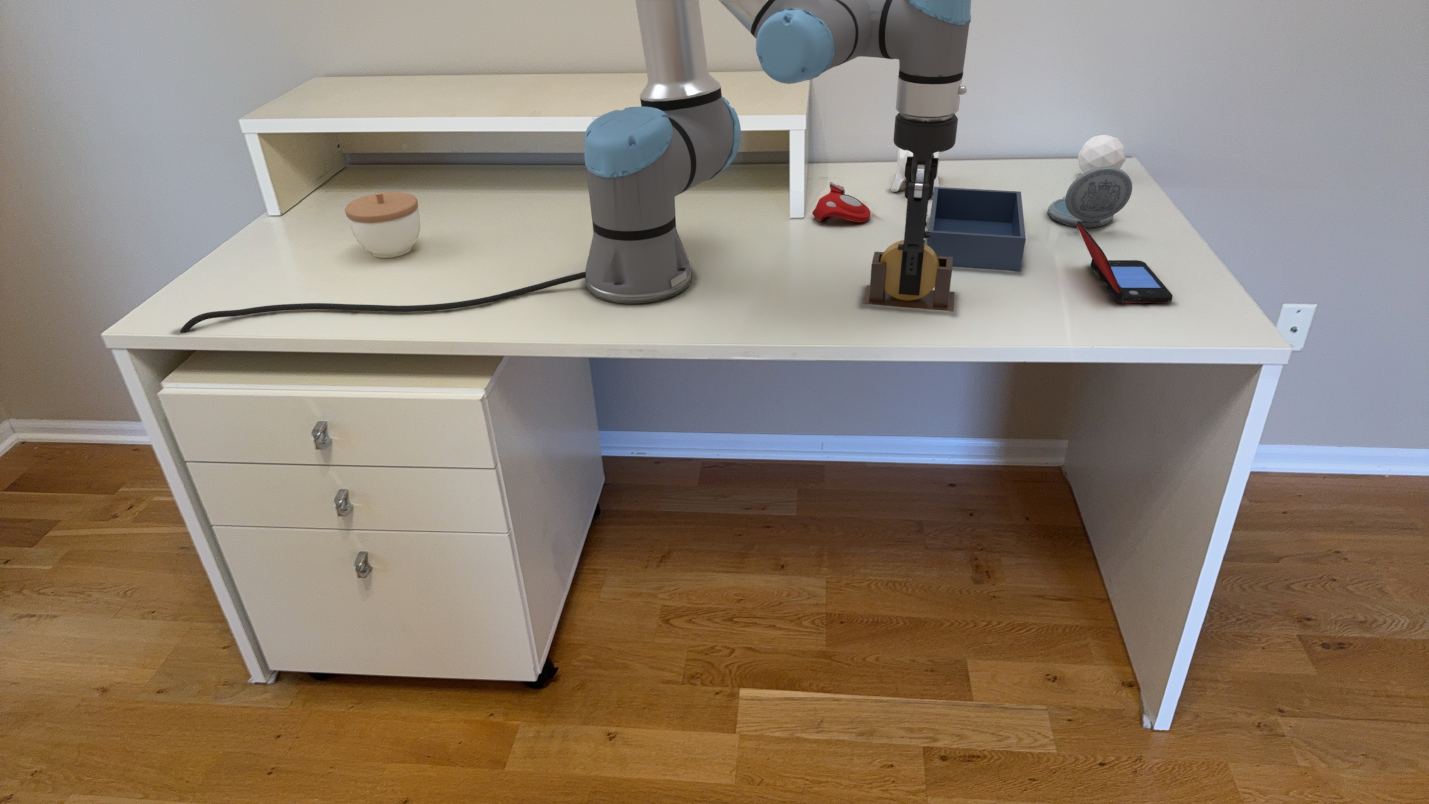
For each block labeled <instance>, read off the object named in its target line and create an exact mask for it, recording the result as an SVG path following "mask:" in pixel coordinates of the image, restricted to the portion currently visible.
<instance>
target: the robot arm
mask: <svg viewBox="0 0 1429 804" xmlns="http://www.w3.org/2000/svg"><path fill="white" fill-rule="evenodd" d="M634 1H635V6H636V7H635V8H636V14H637V19H638V26H639V32H640V38H641V44H642V50H643V51H642V52H643V57H644V63H645V69H646V76H647V82H646V85H645V86H644V88H643V89H642V90H641V92H640V94H639V100H640V106H629V107H625V108H624V109H614V110H611V111H609V112H606V113H604V114H602V115H600V116H598V117H597V118H595V119H594V120H593V121H592V122H590V124H589V125H588V126H587V127H586V130H585V133H584V153H583V160H584V165H585V168H586V170H585V171H586V179H587V187H588V188H587V189H588V197H589V205H590V214H591V222H592V233H593V234H592V239H591V243H590V246H589V247H590V248H589V252H588V256H587V260H586V265H585V271H582V272H577V273H573V274H569V275H565V276H562V277H557V278H554V279H550V280H547V281H544V282H540V283H537V284H533V285H528V286H525V287H521V288H517V289H514V290H511V291H506V292H502V293H498V294H493V295H489V296H484V297H479V298H473V299H468V300H467V299H466V300H461V301H453V302H445V303H432V304H414V305H412V304H411V305H393V304H391V305H389V304H388V305H387V304H362V303H361V304H354V303H353V304H352V303H333V302H331V303H329V302H328V303H327V302H307V303H305V302H304V303H303V302H302V303H284V304H283V303H282V304H271V305H270V304H269V305H261V306H253V307H248V308H239V309H230V310H229V309H228V310H217V311H208V312H204V313H200V314H198V315H196V316H194V317H192V318H190V319H189V320H188V321H187V322H186V323H185V324H184V325H183V326H182V327H181V329H180V331H179V333H180V334H185V333H188V332H190V330H191V329H192V328H193V327H194V326H196V325H197V324H199V323H201V322H203V321H206V320H211V319H217V318H219V319H220V318H232V317H233V318H234V317H243V316H248V315H256V314H262V313H271V312H283V311H285V312H286V311H304V310H305V311H306V310H307V311H309V310H310V311H311V310H312V311H313V310H326V311H328V310H329V311H330V310H331V311H349V312H350V311H351V312H352V311H354V312H383V313H384V312H386V313H387V312H388V313H416V312H432V311H433V312H434V311H435V312H436V311H445V310H455V309H462V308H469V307H475V306H479V305H486V304H490V303H495V302H499V301H503V300H506V299H511V298H515V297H517V296H522V295H525V294H529V293H533V292H537V291H540V290H544V289H545V290H546V289H548V288H551V287H555V286H559V285H562V284H567V283H570V282H575V281H578V280H583V279H585V287H586V289H587V290H588V293H590V294H591V295H592V296H595V297H597V298H599V299H601V300H604V301H606V302H607V301H608V302H611V303H617V304H646V303H653V302H658V301H662V300H667V299H669V298H672V297H674V296H676V295H678V294H680V293H682V292H683V291H685V290H686V289H687V288H688V287H689V286H690V284H691V282H692V267H691V262H690V260H689V256H688V254H687V252H686V249H685V247H684V244H683V242H682V240H681V237H680V234H679V232H678V229H677V219H676V197H677V196H679V195H681V194H683V193H684V192H686V191H688V190H690V189H693V188H694V187H696V186H698V185H699V184H702V183H704V182H707V181H710V180H712V179H714V178H716V177H717V176H718V175H719V174H720V173H721V172H723V171H724V170H725V169H726V168H728V167H729V166H730V165H731V164H732V162H733V161H734V159H735V158H736V157H737V155H738V152H739V150H740V145H741V139H742V130H741V129H742V128H741V122H740V118H739V116H738V113H737V111H736V109H735V108H734V107H732V106H731V105H730V101H729V100H728V99H726V98H725V97H723V95H722V94H723V93H722V86H721V83H720V82H719V81H718V80H717V79H716V78H715V77H714V76H712V75H711V74H710V72H709V69H708V62H707V53H706V45H705V37H704V29H703V21H702V15H701V13H702V12H701V6H700V0H634ZM718 1H719V2H720V3H721V4H722V5H723V6H724V8H725V9H726V10H727V11H728V12H729V13H730V14H731V15H732V16H733V17H734V18H735V19H736V20H737V21H738V22H739V23H740V24H741V25H742V26H743V27H744V28H745V30H747V31H748V32H749V33H750V34H751V35H752V37H754V38H755V52H756V56H757V58H758V61H759V64H760V67H761V69H762V70H763V72H764V73H765V74H766V75H767V76H768V77H769V78H771V80H774V81H775V82H778V83H780V84H786V85H790V84H793V85H794V84H798V83H802V82H804V81H810V80H813V79H816V78H818V77H819V76H821V75H822V74H823V73H826V72H827V71H828V70H831V69H833V68H836V67H838V66H841V65H843V64H845V63H848V62H850V61H852V60H854V59H856V58H859V57H866V58H878V59H886V60H899V62H898V63H899V65H898V67H899V68H898V76H897V84H896V97H895V110H896V111H897V112H898V113H897V114H896V115H895V118H894V129H893V139H892V140H893V144H894V145H895V147H897V149H898V148H900V149H902V150H905V151H906V150H908V151H910V152H912V153H913V157H908V156H907V162H906V165H905V177H906V181H905V188H904V198H905V199H906V200H907V201H906V211H905V213H906V214H905V225H904V235H903V236H904V237H903V240H904V244H898V250H903V251H902V262H901V273H900V284H899V294H905V295H917V296H919V292H920V283H921V273H922V264H923V254H924V245H923V243H925V244H926V240H927V239H930V234H931V232H928V231H926V228H927V226H928V221H927V218H928V216H927V215H928V207H929V202H930V200H932V199H933V187H934V180H935V179H936V177H937V169H938V170H939V166H938V160H939V161H940V157H939V158H934V154H933V153H935V152H940V153H944V152H947V151H949V150H951V149H952V148H953V147H954V146H955V144H956V139H957V133H958V124H959V118H958V116H957V115H956V114H957V112H959V111H960V109H959V108H960V102H961V96H960V95H965V94H967V90H968V89H967V86H966V85H962V84H963V78H964V77H963V76H964V69H965V68H964V67H965V60H966V53H967V45H968V38H969V30H970V23H971V22H972V15H971V10H972V0H718Z"/></svg>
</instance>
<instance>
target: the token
mask: <svg viewBox="0 0 1429 804" xmlns="http://www.w3.org/2000/svg"><path fill="white" fill-rule="evenodd" d="M898 244H904V239H902V240H898V241H896V242H893V243H892V244H891V245H889V246H887V248H886V249H885V250H884V251H883V252H884V253H883V254H882V256H881V259H880V262H885V263H886V275H885V288H884V290H885V291H886V292H887V293H888V294H889V295H891V296H892V297H894V298H897V299H900V300H908V301H909V300H916V299H920V298H922V297H924V296H926V295H927V294H928V293H930V292H931V291H932V290H934V289H935V284H936V275H937V267H938V266H939V260H938V257H937V255H936V253H935V252H934V251H933V250H932V249H931V247H929V246H928V245H927V243H926V242H925V243H923V245H924V254H923V264H922V273H921V283H920V292H919V296H917V295H905V294H899V284H900V273H901V262H902V251H903V250H898Z"/></svg>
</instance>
